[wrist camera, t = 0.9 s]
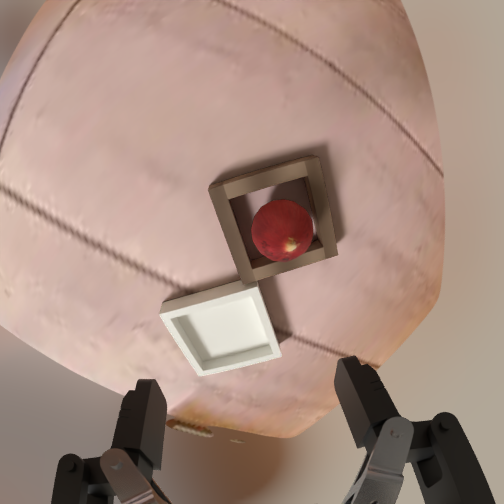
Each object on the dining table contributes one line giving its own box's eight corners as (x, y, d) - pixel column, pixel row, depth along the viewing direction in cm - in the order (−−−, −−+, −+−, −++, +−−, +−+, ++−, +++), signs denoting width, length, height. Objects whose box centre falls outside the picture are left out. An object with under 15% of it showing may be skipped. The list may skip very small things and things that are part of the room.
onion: (294, 246, 31) (314, 284, 24) (243, 238, 30) (250, 276, 23) (307, 197, 29) (334, 222, 22) (254, 186, 28) (265, 209, 21)
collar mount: (312, 154, 27) (318, 157, 25) (332, 247, 32) (338, 254, 30) (209, 185, 27) (208, 190, 26) (241, 275, 32) (242, 284, 30)
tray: (255, 275, 32) (257, 286, 30) (279, 344, 38) (282, 356, 36) (162, 302, 33) (158, 314, 31) (199, 364, 38) (199, 376, 36)
